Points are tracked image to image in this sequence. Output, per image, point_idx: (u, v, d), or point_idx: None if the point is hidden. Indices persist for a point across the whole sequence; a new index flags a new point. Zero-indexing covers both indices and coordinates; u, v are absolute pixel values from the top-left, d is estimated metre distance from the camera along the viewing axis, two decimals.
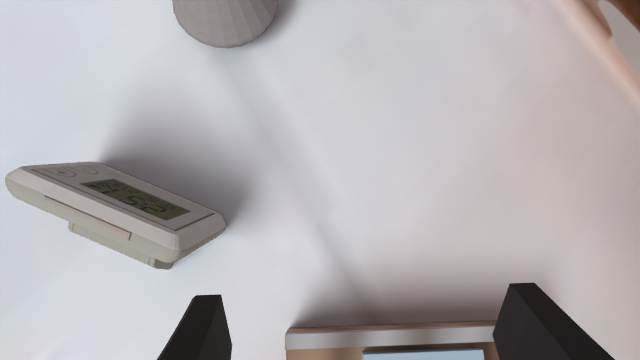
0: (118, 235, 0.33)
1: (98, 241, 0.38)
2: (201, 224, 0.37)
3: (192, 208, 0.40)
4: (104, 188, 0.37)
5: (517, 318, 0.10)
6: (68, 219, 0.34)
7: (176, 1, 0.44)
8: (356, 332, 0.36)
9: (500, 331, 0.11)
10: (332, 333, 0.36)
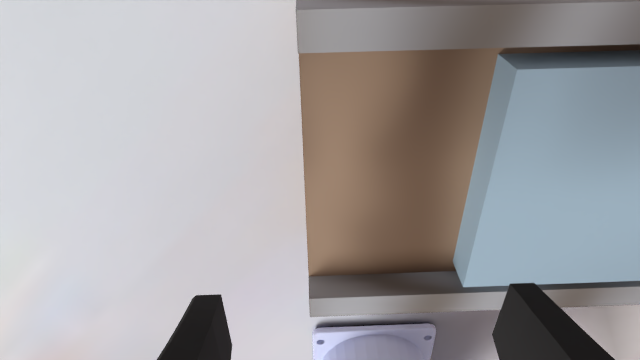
0: None
1: None
2: None
3: None
4: None
5: (517, 318, 0.10)
6: None
7: None
8: (511, 6, 0.12)
9: (500, 331, 0.11)
10: (439, 8, 0.12)
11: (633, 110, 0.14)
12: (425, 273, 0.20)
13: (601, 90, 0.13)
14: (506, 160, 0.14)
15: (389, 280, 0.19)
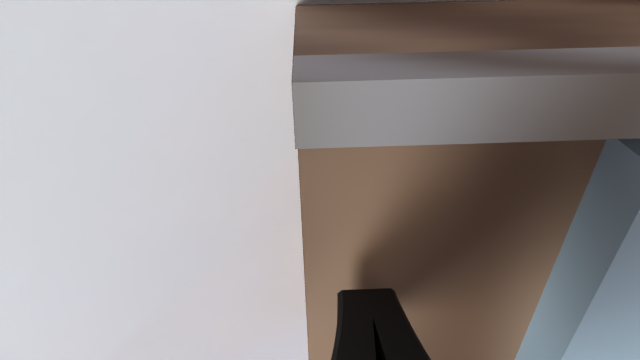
0: None
1: None
2: None
3: None
4: None
5: None
6: None
7: None
8: None
9: None
10: (542, 78, 0.07)
11: None
12: None
13: None
14: (615, 290, 0.09)
15: None
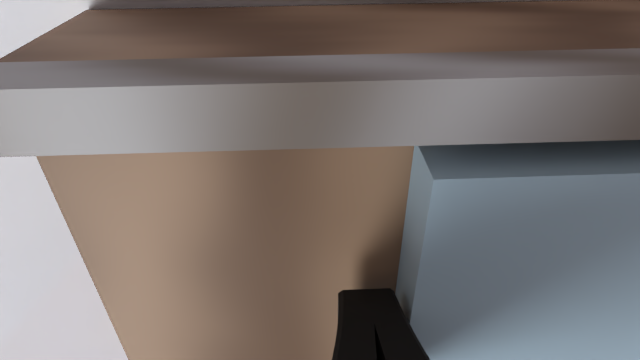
0: None
1: None
2: None
3: None
4: None
5: None
6: None
7: None
8: (335, 83, 0.07)
9: None
10: (206, 87, 0.07)
11: (628, 234, 0.08)
12: None
13: (576, 207, 0.08)
14: (432, 298, 0.09)
15: None
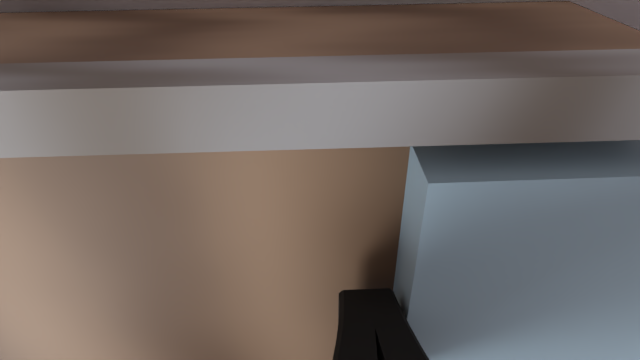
0: None
1: None
2: None
3: None
4: None
5: None
6: None
7: None
8: None
9: None
10: None
11: (622, 236, 0.08)
12: None
13: (569, 210, 0.08)
14: (428, 300, 0.09)
15: None
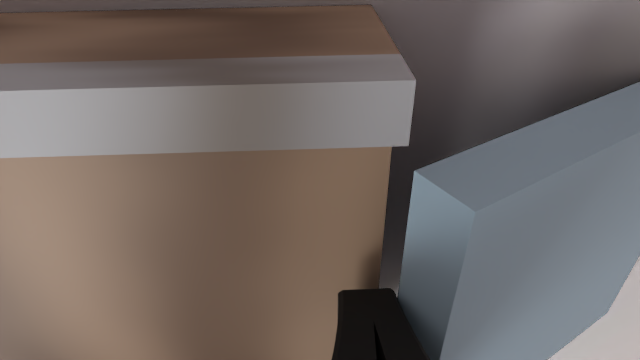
0: None
1: None
2: None
3: None
4: None
5: None
6: None
7: None
8: None
9: None
10: None
11: (589, 201, 0.10)
12: None
13: (564, 193, 0.09)
14: (460, 321, 0.09)
15: None
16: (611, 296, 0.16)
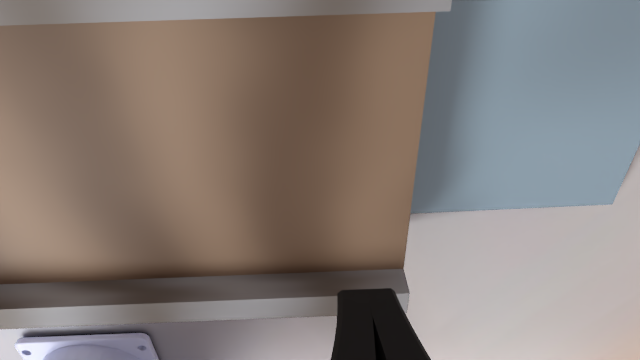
0: None
1: None
2: None
3: None
4: None
5: None
6: None
7: None
8: None
9: None
10: None
11: (529, 40, 0.16)
12: (4, 285, 0.18)
13: (499, 21, 0.15)
14: None
15: None
16: (610, 182, 0.19)
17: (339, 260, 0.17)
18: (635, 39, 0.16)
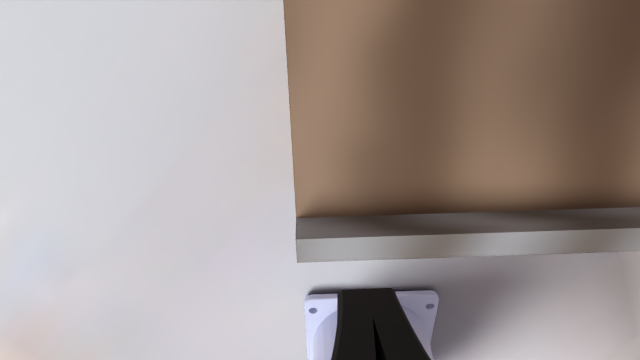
0: None
1: None
2: None
3: None
4: None
5: None
6: None
7: None
8: None
9: None
10: None
11: None
12: (428, 215, 0.17)
13: None
14: None
15: (387, 221, 0.17)
16: None
17: None
18: None
